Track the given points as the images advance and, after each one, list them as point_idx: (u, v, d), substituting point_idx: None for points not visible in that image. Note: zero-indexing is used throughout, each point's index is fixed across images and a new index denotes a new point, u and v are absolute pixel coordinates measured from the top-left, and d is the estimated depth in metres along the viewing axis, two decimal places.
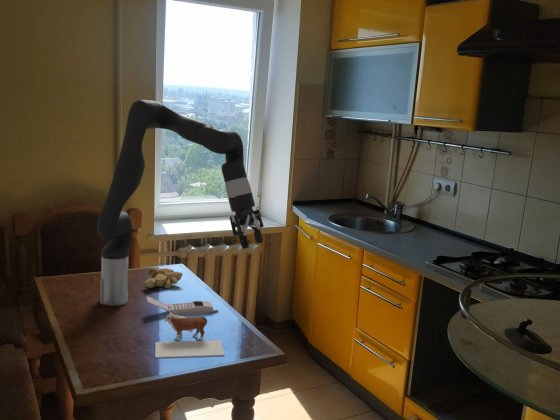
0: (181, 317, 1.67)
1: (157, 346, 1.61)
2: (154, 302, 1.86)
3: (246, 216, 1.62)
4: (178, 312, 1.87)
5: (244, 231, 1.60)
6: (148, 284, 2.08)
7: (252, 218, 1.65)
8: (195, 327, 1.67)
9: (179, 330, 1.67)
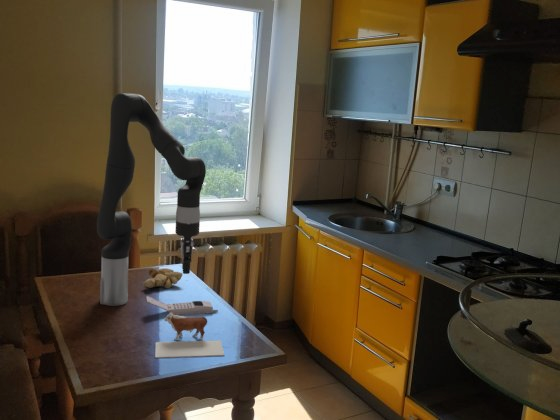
0: (181, 317, 1.67)
1: (157, 346, 1.61)
2: (154, 302, 1.86)
3: (192, 243, 1.71)
4: (178, 312, 1.87)
5: (190, 258, 1.71)
6: (148, 284, 2.08)
7: None
8: (195, 327, 1.67)
9: (179, 330, 1.67)
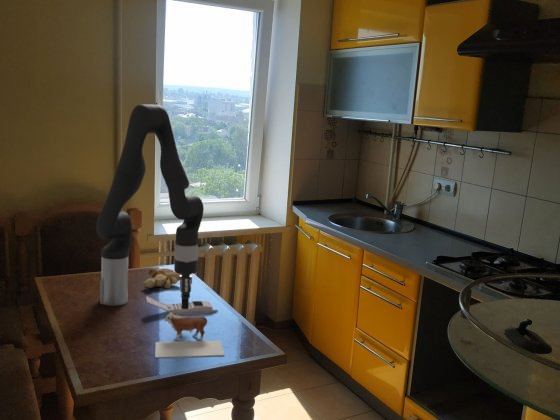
0: (181, 317, 1.67)
1: (157, 346, 1.61)
2: (153, 302, 1.85)
3: (190, 281, 1.73)
4: (178, 312, 1.87)
5: None
6: (148, 284, 2.08)
7: None
8: (195, 327, 1.67)
9: (179, 330, 1.67)
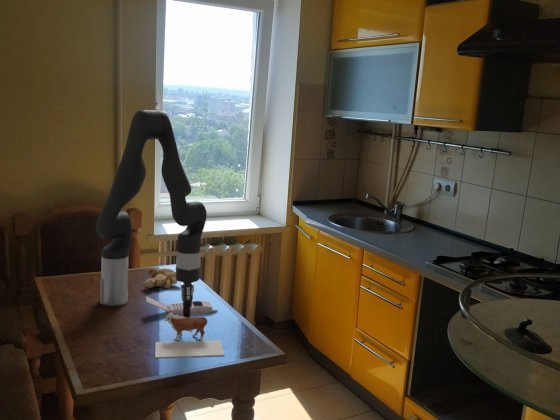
0: (181, 317, 1.67)
1: (157, 346, 1.61)
2: (153, 302, 1.85)
3: (192, 289, 1.68)
4: (177, 312, 1.87)
5: None
6: (148, 284, 2.08)
7: None
8: (195, 327, 1.67)
9: (179, 330, 1.66)
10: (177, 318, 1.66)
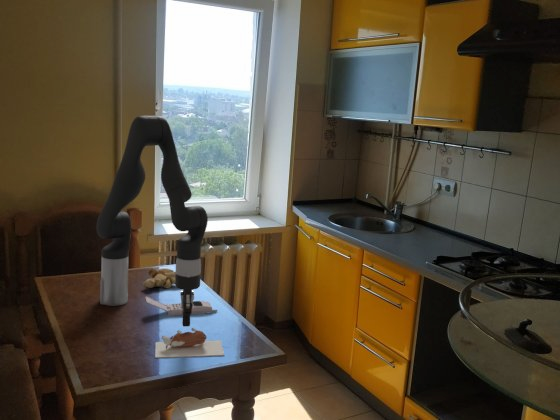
0: (179, 344, 1.60)
1: (157, 346, 1.61)
2: (153, 302, 1.85)
3: (192, 297, 1.62)
4: (177, 312, 1.86)
5: None
6: (148, 284, 2.08)
7: None
8: None
9: None
10: (175, 346, 1.60)
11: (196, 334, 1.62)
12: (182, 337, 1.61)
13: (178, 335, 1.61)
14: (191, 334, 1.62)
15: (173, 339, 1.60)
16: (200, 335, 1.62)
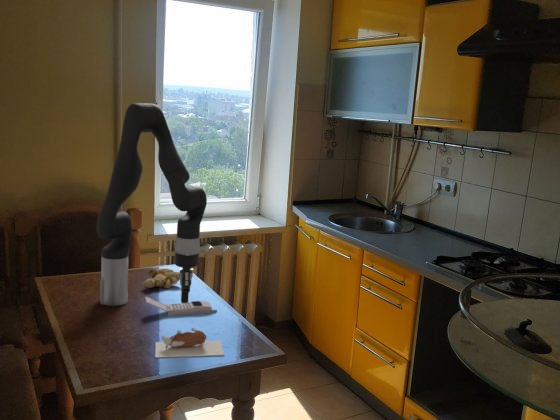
0: (179, 344, 1.60)
1: (157, 346, 1.61)
2: (153, 302, 1.85)
3: (191, 275, 1.68)
4: (177, 312, 1.86)
5: None
6: (148, 284, 2.08)
7: None
8: None
9: None
10: (175, 346, 1.60)
11: (196, 334, 1.62)
12: (182, 337, 1.61)
13: (178, 335, 1.61)
14: (191, 334, 1.62)
15: (173, 339, 1.60)
16: (200, 335, 1.62)
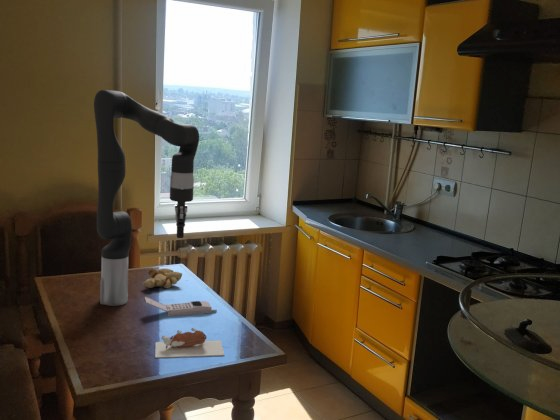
0: (179, 344, 1.60)
1: (157, 346, 1.61)
2: (152, 303, 1.85)
3: (186, 209, 1.75)
4: (177, 312, 1.86)
5: None
6: (148, 284, 2.08)
7: None
8: None
9: None
10: (175, 346, 1.60)
11: (196, 334, 1.62)
12: (182, 337, 1.61)
13: (178, 335, 1.61)
14: (191, 334, 1.62)
15: (173, 339, 1.60)
16: (200, 335, 1.62)
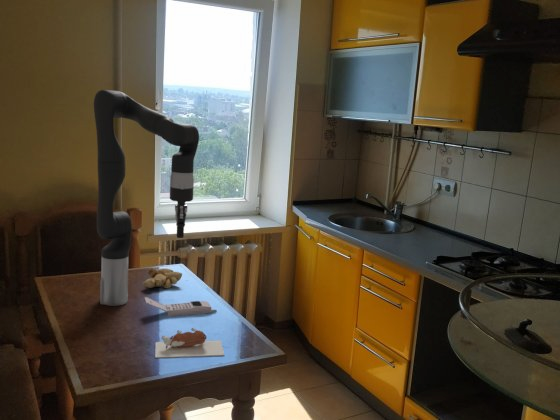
0: (179, 344, 1.60)
1: (157, 346, 1.61)
2: (152, 303, 1.85)
3: (186, 209, 1.75)
4: (177, 312, 1.86)
5: None
6: (148, 284, 2.08)
7: None
8: None
9: None
10: (175, 346, 1.60)
11: (196, 334, 1.62)
12: (182, 337, 1.61)
13: (178, 335, 1.61)
14: (191, 334, 1.62)
15: (173, 339, 1.60)
16: (200, 335, 1.62)
